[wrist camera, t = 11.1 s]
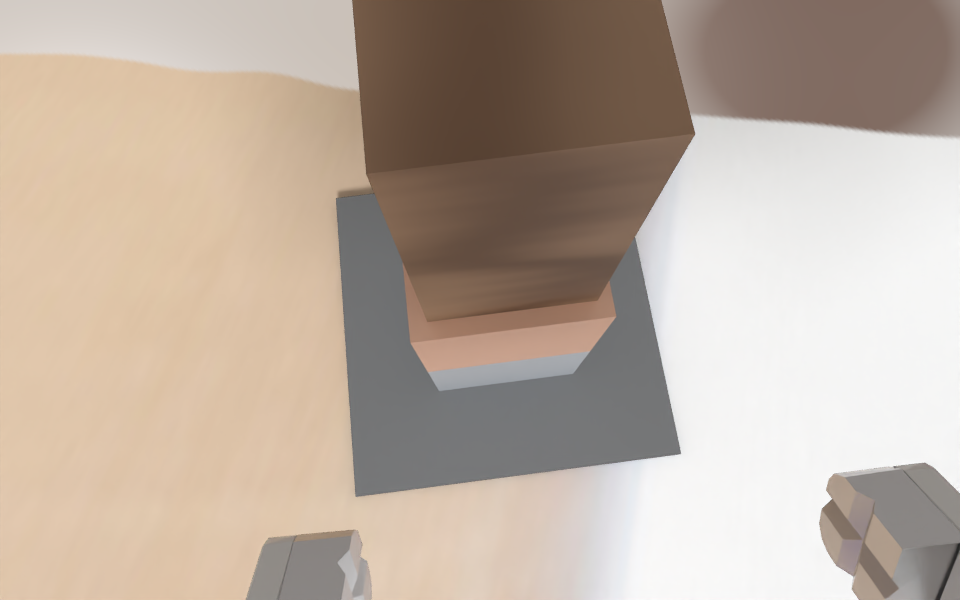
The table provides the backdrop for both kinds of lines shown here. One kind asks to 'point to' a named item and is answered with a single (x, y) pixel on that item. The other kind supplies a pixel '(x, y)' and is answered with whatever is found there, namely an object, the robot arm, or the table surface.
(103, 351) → the table surface
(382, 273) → the rubber mat
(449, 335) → the tower top
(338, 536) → the robot arm
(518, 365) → the tower bottom
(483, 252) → the walnut post
